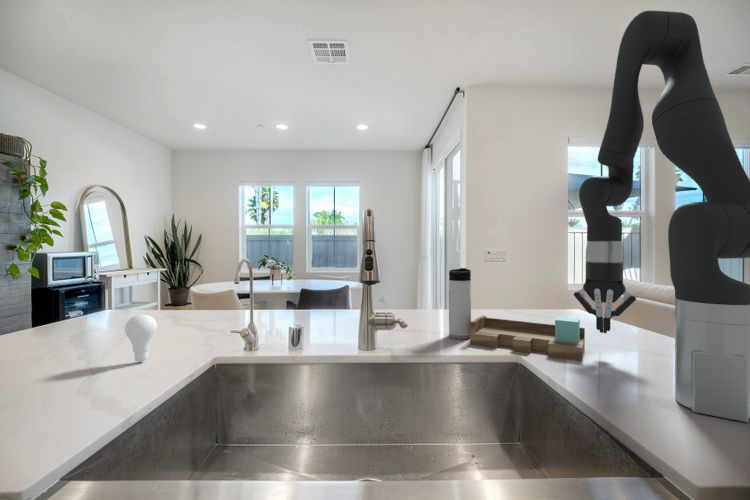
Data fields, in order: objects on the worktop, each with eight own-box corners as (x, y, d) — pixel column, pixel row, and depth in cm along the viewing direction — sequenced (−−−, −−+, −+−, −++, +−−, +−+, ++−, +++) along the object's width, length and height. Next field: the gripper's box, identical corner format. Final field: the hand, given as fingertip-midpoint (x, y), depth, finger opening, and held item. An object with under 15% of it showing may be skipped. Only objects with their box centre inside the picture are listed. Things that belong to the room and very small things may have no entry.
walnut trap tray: (582, 361, 79) (582, 334, 79) (470, 344, 94) (470, 321, 94) (584, 349, 89) (584, 325, 89) (482, 335, 103) (482, 315, 103)
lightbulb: (160, 362, 80) (160, 314, 80) (128, 368, 75) (128, 318, 75) (152, 356, 84) (152, 311, 84) (122, 362, 79) (121, 314, 79)
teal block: (578, 342, 84) (578, 322, 84) (555, 339, 86) (555, 319, 86) (579, 338, 88) (579, 318, 88) (557, 335, 91) (557, 316, 91)
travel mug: (474, 335, 103) (474, 268, 103) (467, 340, 97) (467, 269, 97) (453, 333, 106) (453, 267, 106) (445, 337, 101) (445, 268, 100)
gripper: (570, 260, 84) (570, 331, 84) (639, 261, 76) (638, 340, 77) (573, 259, 90) (573, 325, 90) (637, 260, 82) (636, 332, 83)
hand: (603, 332), depth 83 cm, fingers closed
